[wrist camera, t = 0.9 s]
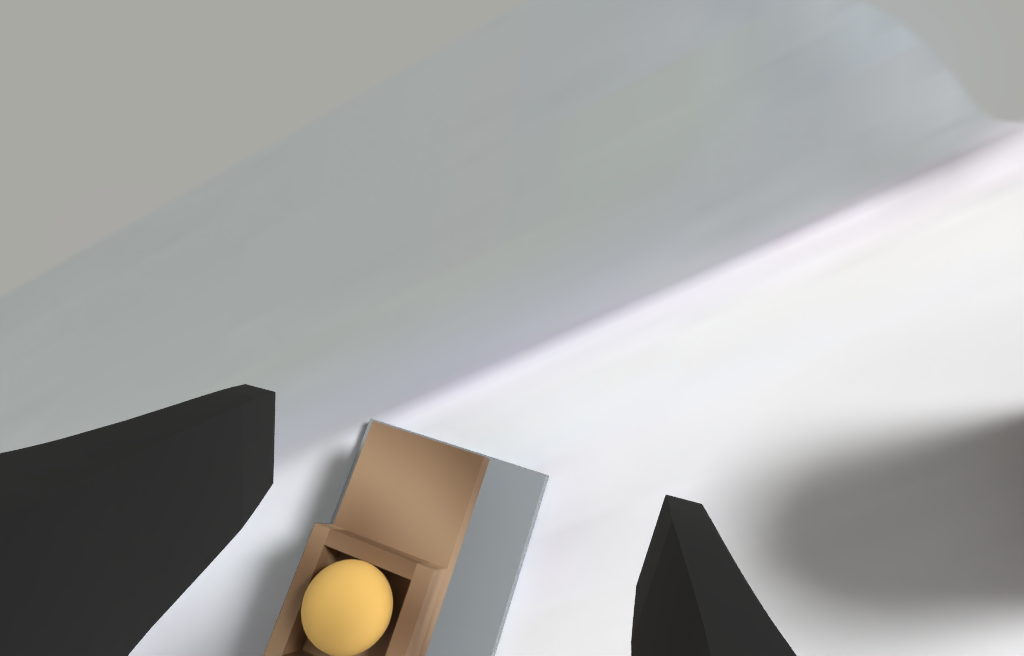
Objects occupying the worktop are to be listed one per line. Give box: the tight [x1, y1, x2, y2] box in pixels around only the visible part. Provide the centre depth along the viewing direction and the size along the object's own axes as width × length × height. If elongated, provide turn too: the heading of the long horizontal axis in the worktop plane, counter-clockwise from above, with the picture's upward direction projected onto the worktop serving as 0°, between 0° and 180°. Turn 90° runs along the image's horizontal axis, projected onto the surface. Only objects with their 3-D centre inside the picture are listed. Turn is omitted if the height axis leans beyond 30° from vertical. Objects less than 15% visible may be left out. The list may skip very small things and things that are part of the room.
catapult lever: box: [263, 421, 490, 656], centre depth 24 cm, size 14×6×2 cm, turn 162°
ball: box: [301, 559, 393, 656], centre depth 23 cm, size 3×3×3 cm
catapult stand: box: [330, 419, 549, 656], centre depth 26 cm, size 14×9×4 cm, turn 162°
